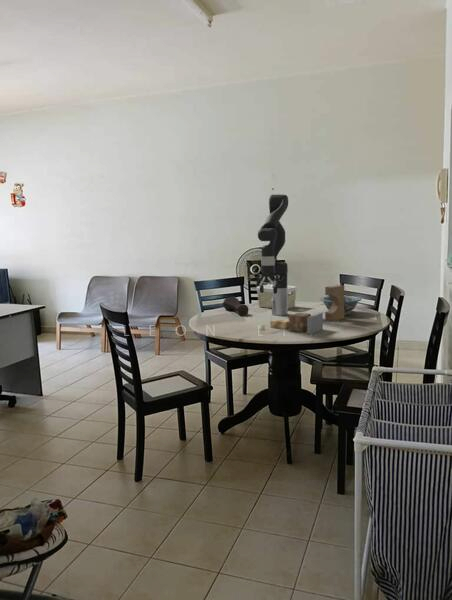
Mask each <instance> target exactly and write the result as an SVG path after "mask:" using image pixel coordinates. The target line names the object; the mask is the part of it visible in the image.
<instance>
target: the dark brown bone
mask: <svg viewBox="0 0 452 600" xmlns="http://www.w3.org/2000/svg"><path fill="white" fill-rule="evenodd" d="M222 305H223V307H224V309H225V310H226V311H230V310H234V311H236V312H237V314H238V315H239V316H247V315H248V313H249V309H250V308H249V307H248V305H246V304H241V302H240V300H239V299H238V298H237V297H236V296H233V295H232V296H229V297H225V299H223V302H222Z"/></svg>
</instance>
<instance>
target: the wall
mask: <svg viewBox="0 0 452 600" xmlns="http://www.w3.org/2000/svg"><path fill="white" fill-rule="evenodd" d="M323 316H324V315H323V312H318V313H317V312H316V313H314V314H311V316H309V317H307V330H306V331H307V333H306V334H307V335H313V334H315V333H318V332H320V331H322V330H323V327H324V326H323V325H324V321H323V320H324V319H323Z"/></svg>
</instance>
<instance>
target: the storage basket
mask: <svg viewBox="0 0 452 600" xmlns="http://www.w3.org/2000/svg"><path fill="white" fill-rule="evenodd" d="M263 286H264V292H263V293H261V292H260V286H259V285H257V286H256V292H257V301H258V307H259V308H266V309H272V299H273V285H272V284H271V283H270V284H264V285H263ZM287 292H288V309H291V308H294V307H295V306H296V297H297V296H296V294H297V293H296V292H297V286H293V285H287Z"/></svg>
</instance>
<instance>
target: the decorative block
mask: <svg viewBox="0 0 452 600" xmlns="http://www.w3.org/2000/svg"><path fill="white" fill-rule="evenodd" d="M324 288H325V289H324V290H325V292H324V295H325V296H329V297H330V298H331V299H332V306H331V308H330V309H329V310H327V311H325V318H324V320H325V321H328V322H337V321H341V320H345V315H344V296H345V285H341V284H336V285H335V284H334V285H329V286H325V287H324Z"/></svg>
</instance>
